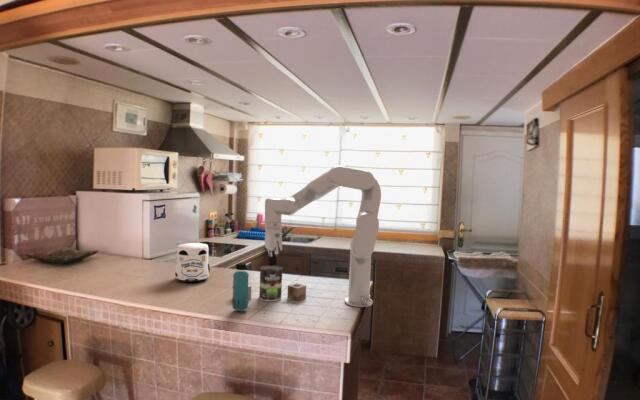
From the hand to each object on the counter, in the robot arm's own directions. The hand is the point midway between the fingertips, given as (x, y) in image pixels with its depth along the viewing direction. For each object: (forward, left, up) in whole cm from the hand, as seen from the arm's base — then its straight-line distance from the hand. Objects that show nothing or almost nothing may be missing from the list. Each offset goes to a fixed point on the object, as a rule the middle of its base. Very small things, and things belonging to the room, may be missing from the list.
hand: (272, 265), depth 177 cm
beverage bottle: (-11, +18, -16) cm, 26 cm away
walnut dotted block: (-5, -11, -16) cm, 19 cm away
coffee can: (0, 0, -16) cm, 16 cm away
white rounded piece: (+43, +26, -16) cm, 53 cm away
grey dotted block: (+5, +11, -16) cm, 20 cm away
